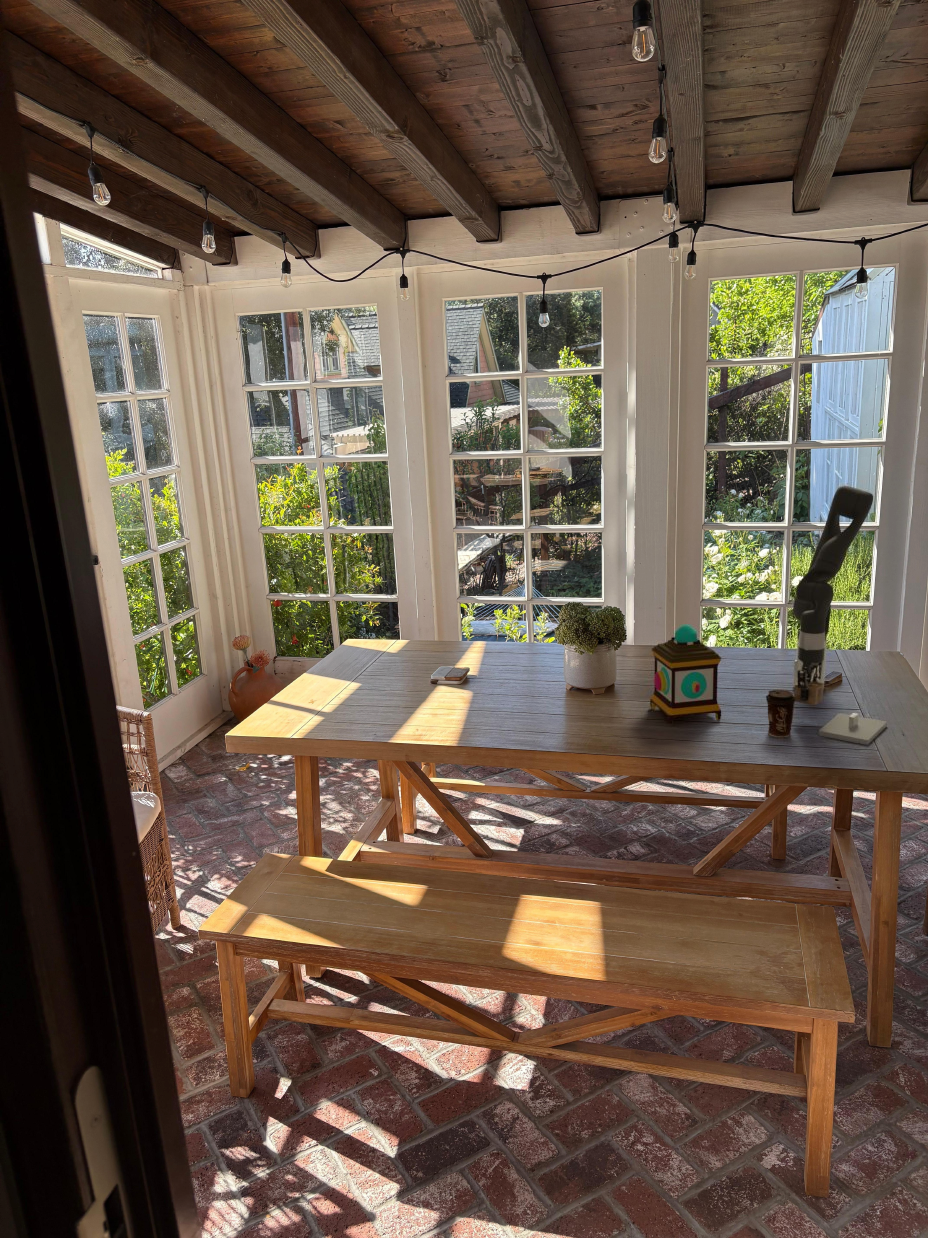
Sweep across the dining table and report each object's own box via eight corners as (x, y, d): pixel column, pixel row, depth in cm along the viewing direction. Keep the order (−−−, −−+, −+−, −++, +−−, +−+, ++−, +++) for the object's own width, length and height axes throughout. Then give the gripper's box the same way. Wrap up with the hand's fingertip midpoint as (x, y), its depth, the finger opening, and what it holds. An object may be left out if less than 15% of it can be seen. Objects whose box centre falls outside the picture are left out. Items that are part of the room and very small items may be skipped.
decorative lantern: (666, 728, 282) (667, 635, 275) (644, 707, 301) (644, 619, 294) (727, 721, 285) (729, 629, 278) (701, 701, 304) (703, 614, 297)
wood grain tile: (848, 727, 271) (849, 716, 270) (852, 723, 274) (853, 712, 273) (853, 728, 270) (853, 717, 269) (857, 724, 273) (858, 713, 272)
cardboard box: (793, 701, 280) (794, 684, 279) (801, 695, 285) (802, 679, 283) (815, 705, 276) (816, 688, 275) (822, 699, 280) (823, 683, 279)
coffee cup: (760, 729, 277) (762, 688, 274) (788, 728, 277) (790, 687, 274) (769, 739, 269) (770, 698, 266) (797, 738, 269) (799, 697, 266)
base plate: (818, 735, 270) (818, 730, 270) (839, 717, 284) (839, 713, 283) (867, 745, 261) (867, 740, 261) (886, 726, 275) (886, 721, 274)
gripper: (808, 637, 283) (805, 688, 288) (789, 648, 273) (787, 701, 278) (832, 641, 279) (829, 693, 283) (814, 653, 268) (811, 706, 273)
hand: (808, 697), depth 280 cm, fingers closed on cardboard box, 6 cm apart
